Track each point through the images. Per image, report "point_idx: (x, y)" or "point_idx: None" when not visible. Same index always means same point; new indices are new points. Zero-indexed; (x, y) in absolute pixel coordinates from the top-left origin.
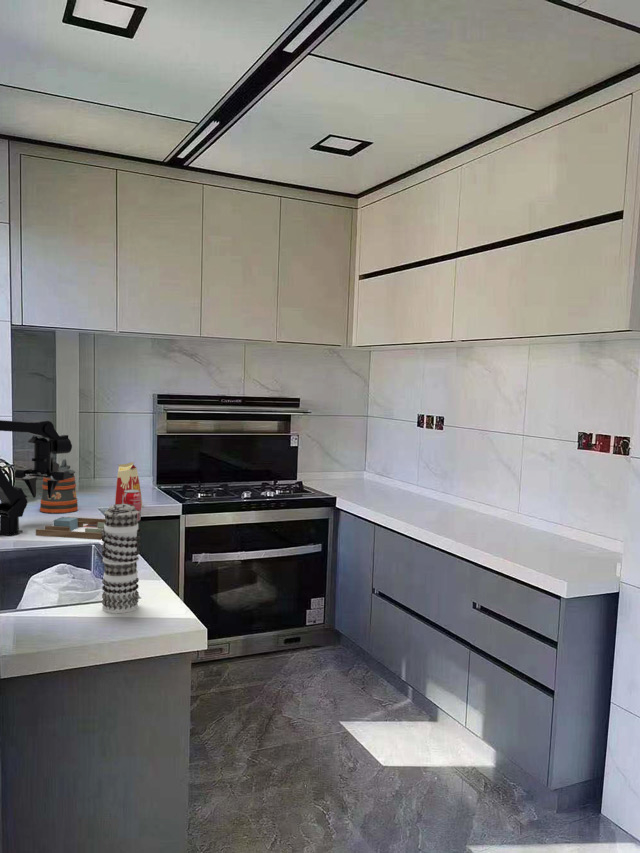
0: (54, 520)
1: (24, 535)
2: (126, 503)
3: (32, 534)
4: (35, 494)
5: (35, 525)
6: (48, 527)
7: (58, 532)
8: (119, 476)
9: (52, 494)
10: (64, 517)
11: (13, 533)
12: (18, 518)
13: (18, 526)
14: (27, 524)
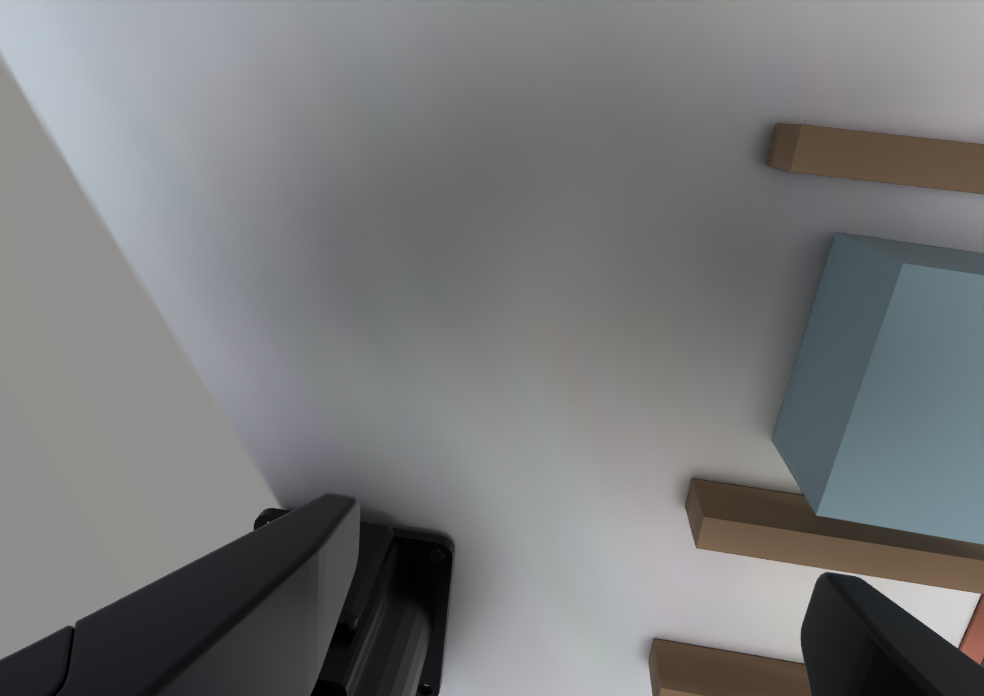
0: (828, 513)
1: (535, 660)
2: None
3: (597, 621)
4: (333, 561)
5: (432, 174)
6: (746, 549)
7: None
8: None
9: (947, 643)
10: (954, 304)
11: (425, 672)
12: (364, 650)
13: (393, 577)
14: (302, 126)
